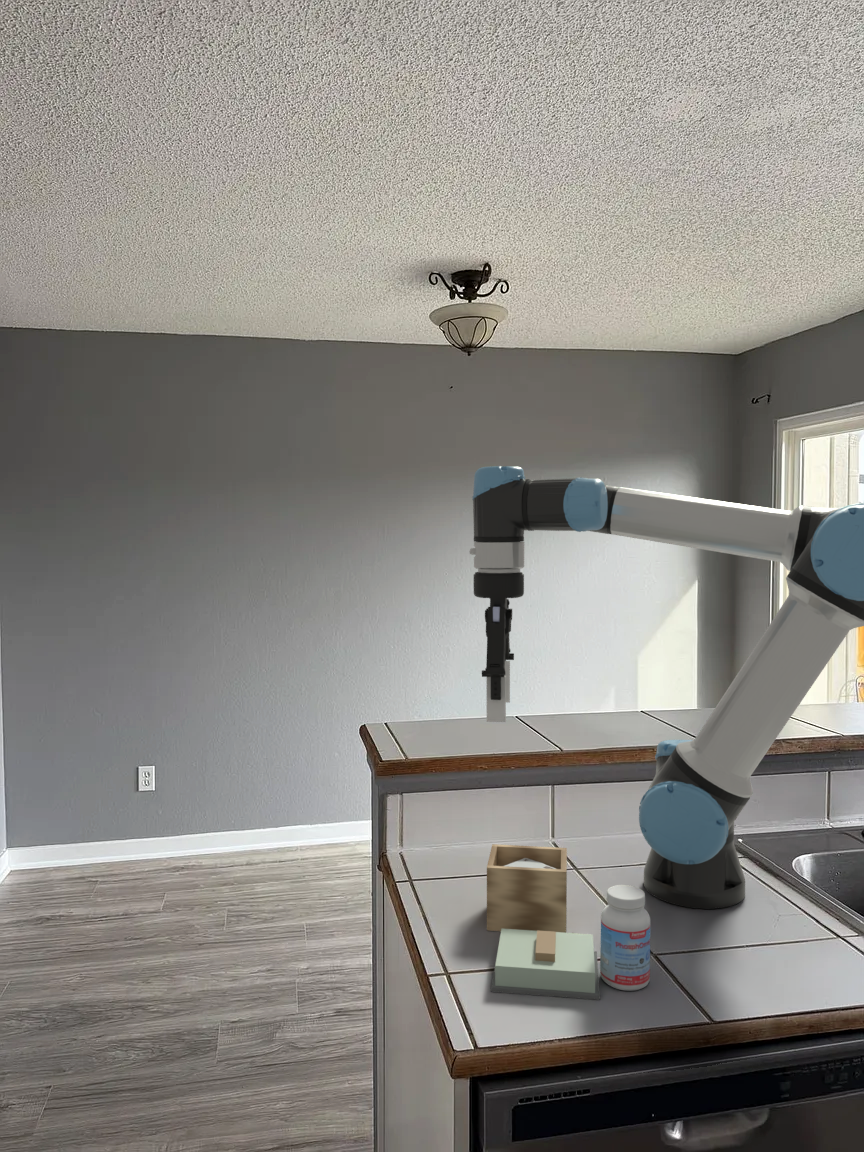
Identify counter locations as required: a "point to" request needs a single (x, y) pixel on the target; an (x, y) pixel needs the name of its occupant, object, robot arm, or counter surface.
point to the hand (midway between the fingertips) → (498, 711)
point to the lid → (545, 960)
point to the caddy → (526, 889)
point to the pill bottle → (625, 939)
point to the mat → (551, 992)
